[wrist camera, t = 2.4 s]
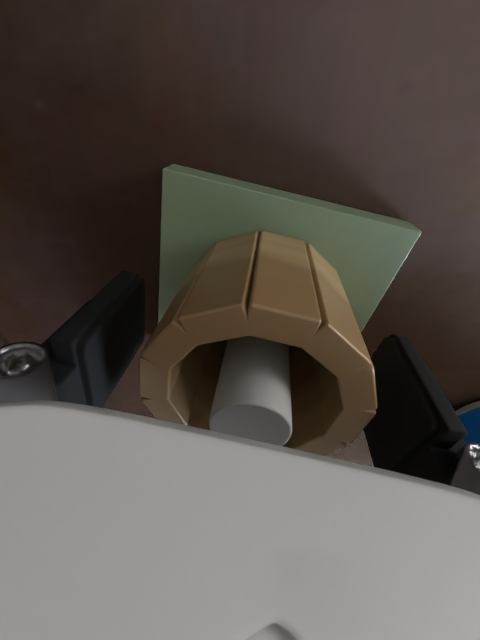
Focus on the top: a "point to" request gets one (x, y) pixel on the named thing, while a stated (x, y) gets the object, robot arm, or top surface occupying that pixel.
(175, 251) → the post stand
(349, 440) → the ring
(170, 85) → the top surface
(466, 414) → the beverage can
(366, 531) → the robot arm
